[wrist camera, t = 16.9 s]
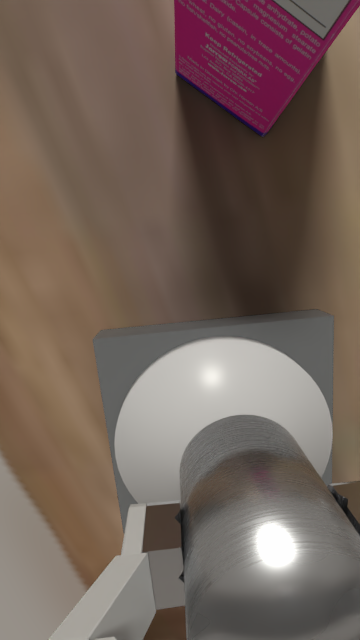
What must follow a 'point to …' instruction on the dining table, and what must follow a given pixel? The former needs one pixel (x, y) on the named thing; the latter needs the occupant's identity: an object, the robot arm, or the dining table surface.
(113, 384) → the scale
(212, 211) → the dining table surface
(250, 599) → the cylinder
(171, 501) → the robot arm
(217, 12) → the supplement box
